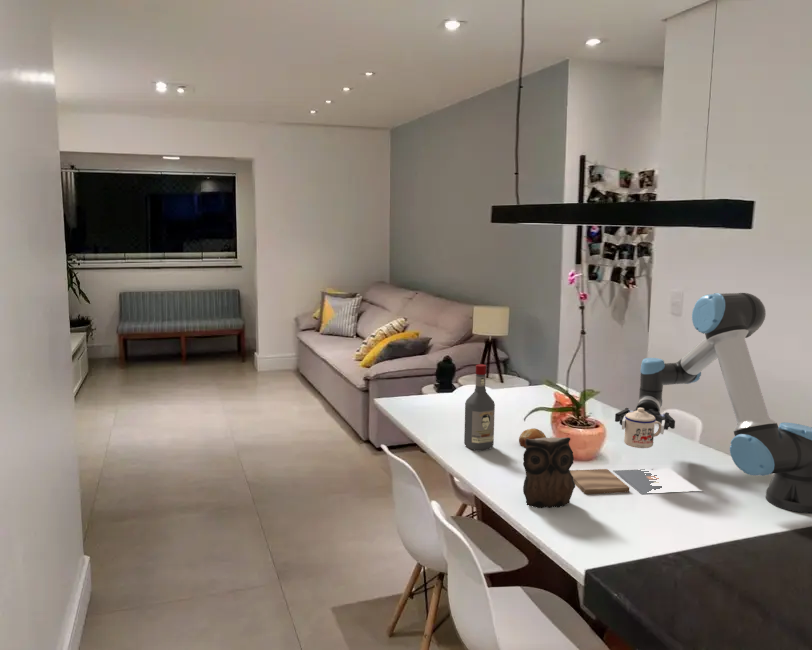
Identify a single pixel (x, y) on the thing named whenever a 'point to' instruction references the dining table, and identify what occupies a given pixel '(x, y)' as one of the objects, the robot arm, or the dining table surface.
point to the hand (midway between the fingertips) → (642, 427)
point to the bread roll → (530, 435)
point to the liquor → (479, 415)
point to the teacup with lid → (640, 429)
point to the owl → (548, 472)
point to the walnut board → (598, 481)
